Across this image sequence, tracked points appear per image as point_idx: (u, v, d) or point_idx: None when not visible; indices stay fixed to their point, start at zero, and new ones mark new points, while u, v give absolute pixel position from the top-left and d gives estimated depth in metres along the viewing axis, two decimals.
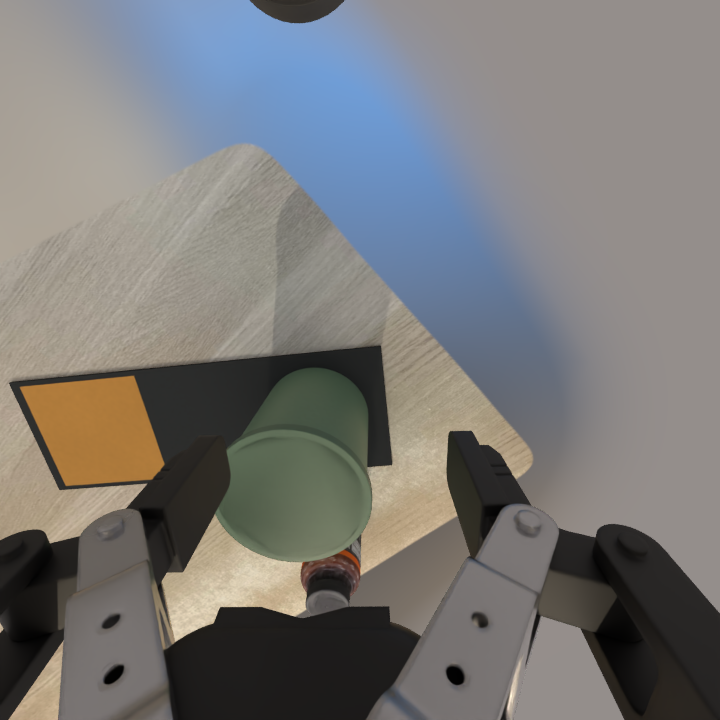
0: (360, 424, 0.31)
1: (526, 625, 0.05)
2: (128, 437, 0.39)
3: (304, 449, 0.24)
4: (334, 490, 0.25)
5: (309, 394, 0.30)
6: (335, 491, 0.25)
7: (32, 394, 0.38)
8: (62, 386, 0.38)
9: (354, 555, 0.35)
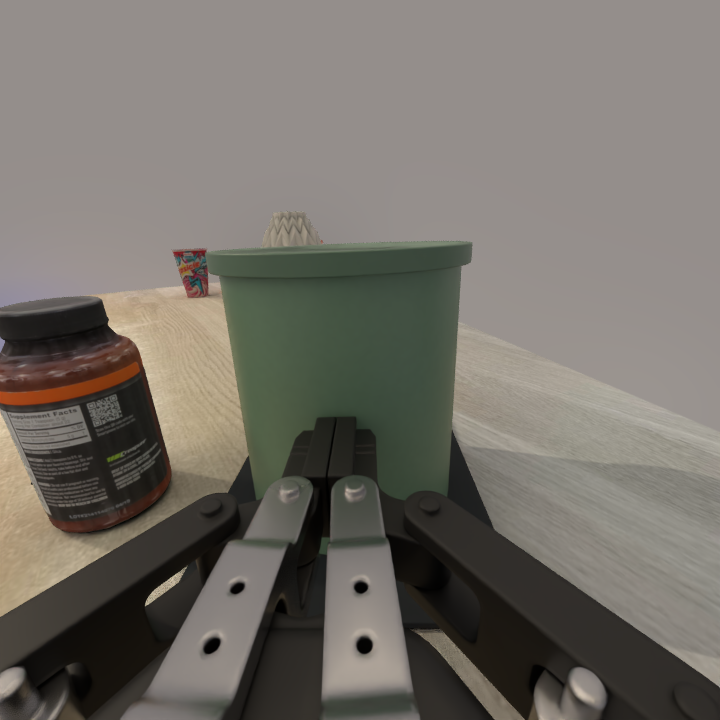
0: (388, 427, 0.14)
1: (392, 566, 0.06)
2: None
3: (437, 243, 0.15)
4: None
5: (454, 379, 0.17)
6: (347, 248, 0.13)
7: None
8: None
9: (64, 403, 0.15)
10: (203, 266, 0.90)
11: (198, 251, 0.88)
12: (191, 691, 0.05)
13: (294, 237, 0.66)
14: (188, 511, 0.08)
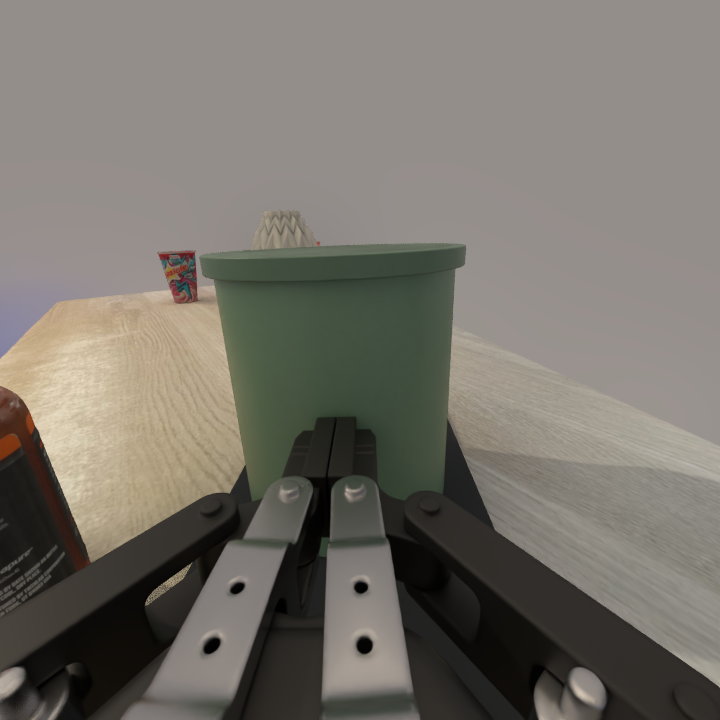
0: (385, 429, 0.14)
1: (392, 566, 0.06)
2: None
3: (431, 246, 0.15)
4: (345, 251, 0.13)
5: None
6: (343, 251, 0.13)
7: None
8: None
9: None
10: (191, 269, 0.84)
11: (185, 253, 0.82)
12: (191, 691, 0.05)
13: (287, 238, 0.60)
14: (188, 511, 0.08)
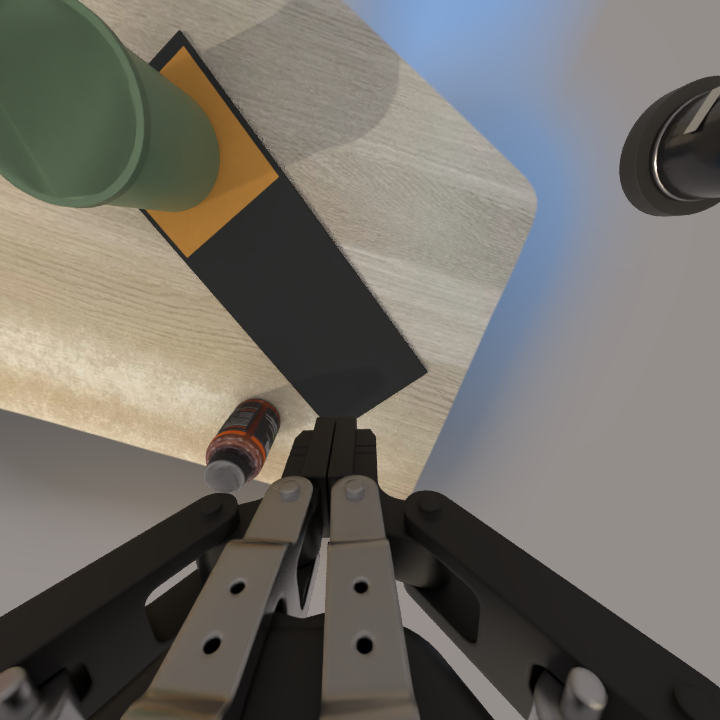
0: (185, 169, 0.29)
1: (392, 566, 0.06)
2: None
3: (111, 75, 0.21)
4: (98, 142, 0.22)
5: (172, 91, 0.27)
6: (99, 144, 0.22)
7: (184, 65, 0.32)
8: (217, 100, 0.32)
9: (264, 462, 0.38)
10: None
11: None
12: (191, 691, 0.05)
13: None
14: (188, 511, 0.08)
